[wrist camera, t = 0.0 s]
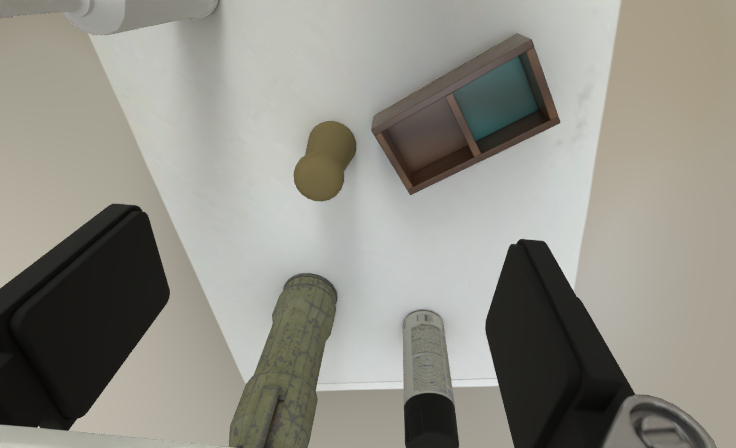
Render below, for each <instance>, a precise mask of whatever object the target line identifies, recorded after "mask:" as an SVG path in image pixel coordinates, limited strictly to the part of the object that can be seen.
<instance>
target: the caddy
mask: <svg viewBox="0 0 736 448" xmlns="http://www.w3.org/2000/svg"><path fill="white" fill-rule="evenodd" d="M559 123H560V120H559V117H558V114H557V111H556V108H555V105H554V102H553V99H552V97H551V94H550V91H549V88H548V85H547V82H546V79H545V76H544V74H543V71H542V68H541V65H540V62H539V59H538V56H537V53H536V51H535V48H534V45H533V42H532V40H531V39H529V38H527V37H524V36H522V35H520V34H516V35H514V36H512V37H510V38H509V39H507V40H505V41H503V42H502V43H500V44H498V45H496V46H495V47H493V48H491V49H490V50H488V51H486V52H484V53H483V54H481V55H479V56H477V57H476V58H474V59H472V60H470V61H469V62H467V63H465V64H464V65H462V66H460V67H458V68H457V69H455V70H453V71H451V72H450V73H448V74H446V75H444V76H443V77H441V78H439V79H437V80H436V81H434V82H432V83H431V84H429V85H427V86H425V87H424V88H422V89H420V90H418V91H417V92H415V93H413V94H411V95H410V96H408V97H406V98H405V99H403V100H401V101H399V102H398V103H396V104H394V105H392V106H391V107H389V108H387V109H385V110H384V111H382V112H380V113H379V114H377V115H375V116H374V117H373V123H372V129H371V130H372V132H373V134H374V135H375V137H376V139H377V140H378V142H379V144H380V145H381V147H382V149H383V150H384V152H385V154H386V155H387V157H388V159H389V160H390V162H391V164H392V165H393V167H394V169H395V170H396V172H397V174H398V175H399V177H400V179H401V180H402V182H403V184H404V185H405V187H406V189H407V190H408V192H409V194H410V195H412V194H414V193H416V192H418V191H420V190H422V189H424V188H426V187H428V186H430V185H433V184H435V183H437V182H439V181H441V180H443V179H445V178H447V177H449V176H451V175H453V174H455V173H457V172H460V171H462V170H464V169H466V168H468V167H470V166H472V165H474V164H476V163H478V162H480V161H482V160H484V159H487V158H489V157H491V156H493V155H495V154H497V153H499V152H501V151H503V150H505V149H507V148H509V147H511V146H514V145H516V144H518V143H520V142H522V141H524V140H526V139H528V138H530V137H532V136H534V135H536V134H538V133H541V132H543V131H545V130H547V129H549V128H551V127H553V126H555V125H557V124H559Z"/></svg>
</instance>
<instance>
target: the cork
mask: <svg viewBox="0 0 736 448" xmlns="http://www.w3.org/2000/svg"><path fill="white" fill-rule="evenodd" d="M355 152H356V141H355V138H354V135H353V134H352V132H351V131H350V129H348V128H347V127H346V126H344V125H343V124H341V123H338V122H332V121H327V122H323V123H320V124H319V125H317V126H316V127H315V128H314V129H313V130H312V132H311V133H310V136H309V140H308V145H307V150H306V155H305V156H304V157H302V158H301V159H300V160H299V162H298V163H297V165H296V167H295V171H294V182H295V185H296V187H297V189H298V190H299V191H300V193H301V194H302V195H304V196H305V197H307V198H308V199H311V200H314V201H326V200H330V199H331V198H333V197H334V196H336V195H337V194H338V192H339V191H340V190H341V188H342V185H343V182H344V170H345V169H346V167H347V166H348V164H349V163H350V161H351V160H352V158H353V157H354V155H355Z"/></svg>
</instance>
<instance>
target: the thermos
mask: <svg viewBox="0 0 736 448" xmlns="http://www.w3.org/2000/svg"><path fill="white" fill-rule="evenodd" d="M336 301H337V293H336V290H335V288H334V286H333V285H332V284H331V283H330V282H329V281H328V280H327V279H325V278H323V277H321V276H318V275H314V274H299V275H296V276H293V277H292V278H290V279H289V280H288V281H287V283H286V284H285V286H284V289H283V292H282V293H281V295H280V296H279V299H278V301H277V304H276V306H275V309H274V312H273V314H272V319H273V325H272V328H271V330H270V333H269V336H268V339H267V341H266V344H265V347H264V349H263V352H262V355H261V357H260V360H259V363H258V365H257V368H256V371H255V373H254V376H253V377H252V378H251V379H250V380H249V381H248V383H247V384H246V386H245V389H244V391H243V394H242V397H241V399H240V402H239V404H238V407H237V410H236V412H235V415H234V417H233V420H232V423H231V425H230V436H229V447H233V448H307V447H308V444H309V440H310V436H311V430H312V425H313V420H314V415H315V410H316V405H317V395H316V391H315V390H316V386H317V381H318V376H319V371H320V366H321V361H322V357H323V352H324V347H325V342H326V340H327V339H328V337H329V336H330V334H331V330H332V326H333V322H334V316H335V311H336V307H335V304H336Z"/></svg>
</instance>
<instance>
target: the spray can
mask: <svg viewBox="0 0 736 448" xmlns="http://www.w3.org/2000/svg"><path fill="white" fill-rule="evenodd" d="M403 369H404V419H405V420H404V421H405V446H406V448H459V440H458V432H457V423H456V414H455V406H454V399H453V391H452V384H451V377H450V369H449V362H448V354H447V347H446V340H445V333H444V325H443V322H442V320H441V318H440V317H439V316H438V315H437V314H434V313H432V312H430V311H425V310H421V311H417V312H414V313H411V314H410V315H408V316H407V317H406V319H405V321H404V324H403Z"/></svg>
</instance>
